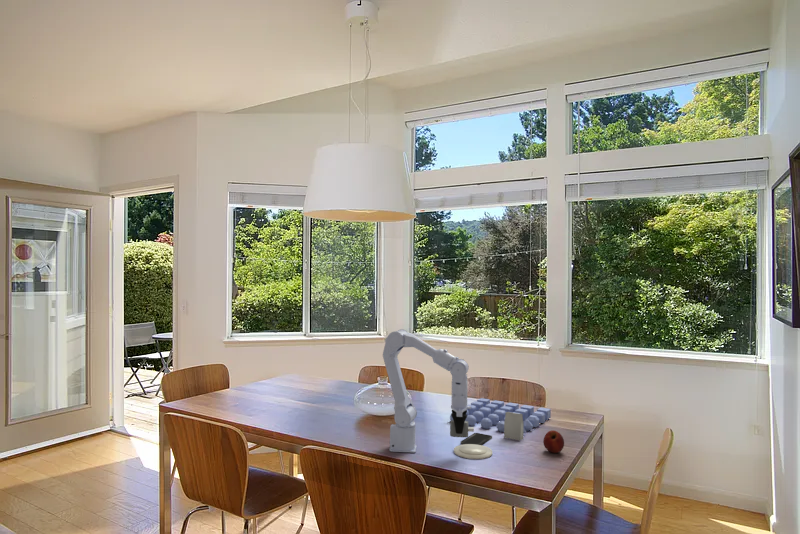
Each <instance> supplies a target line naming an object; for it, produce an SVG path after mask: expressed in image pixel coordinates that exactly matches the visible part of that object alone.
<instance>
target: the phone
mask: <svg viewBox="0 0 800 534" xmlns="http://www.w3.org/2000/svg"><path fill="white" fill-rule="evenodd" d="M492 439H493V435H490V434H486V433H485V434H484V433H479V432H474V433H472V434H470V435H468V437H464V438H463V439H462V440H461V441H460V445H463V444H476V445H482V446H484V444H486V443H488V442H489V441H491V440H492Z"/></svg>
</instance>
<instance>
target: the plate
mask: <svg viewBox="0 0 800 534" xmlns="http://www.w3.org/2000/svg"><path fill="white" fill-rule="evenodd" d="M453 453H454V454H455V455H456V456H458V457H460V458H463V459H469V460H484V459H488V458H490V457H492V456H493V449H491V448H490V447H488V446H486V445H476V444H463V445H462V444H460V445H459V444H458V445H456V446H455V447H453Z"/></svg>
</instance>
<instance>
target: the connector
mask: <svg viewBox="0 0 800 534" xmlns="http://www.w3.org/2000/svg"><path fill="white" fill-rule="evenodd" d="M469 432H474V433H475V427H474V426H468V421H465V422H464V427H463V432H462V434H456V430H455V424H454V420H452V421H451V420H449V436H450V437H451V438H467V437H469Z"/></svg>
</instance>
